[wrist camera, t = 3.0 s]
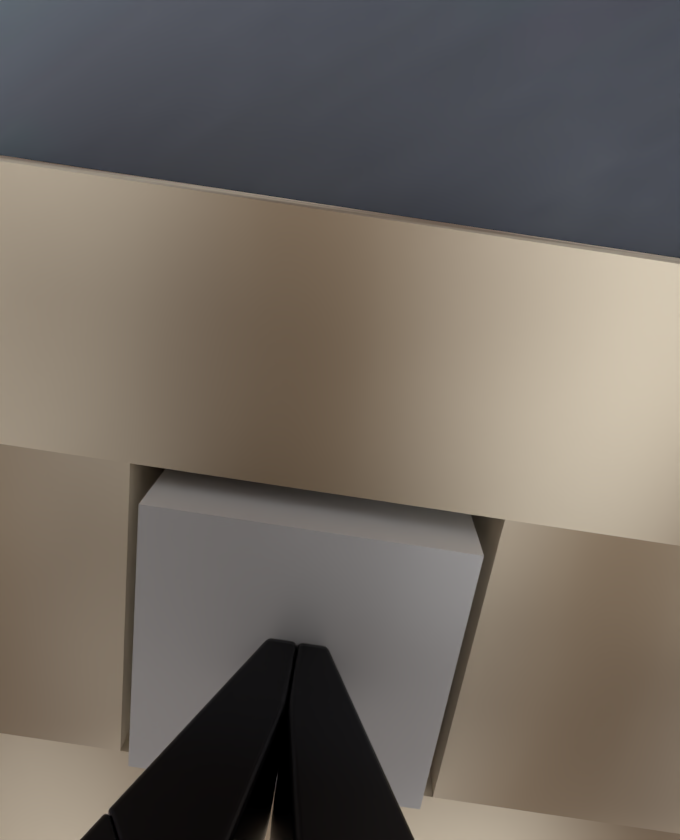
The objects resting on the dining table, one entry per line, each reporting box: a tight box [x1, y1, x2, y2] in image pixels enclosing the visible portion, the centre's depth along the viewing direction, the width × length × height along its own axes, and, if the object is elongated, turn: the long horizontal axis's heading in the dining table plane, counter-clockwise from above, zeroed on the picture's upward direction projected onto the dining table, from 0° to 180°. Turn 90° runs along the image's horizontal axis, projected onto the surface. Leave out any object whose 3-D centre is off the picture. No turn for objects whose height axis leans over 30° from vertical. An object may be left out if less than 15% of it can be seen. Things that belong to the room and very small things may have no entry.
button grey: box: [128, 469, 484, 809], centre depth 10 cm, size 4×4×4 cm
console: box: [0, 155, 680, 840], centre depth 13 cm, size 14×24×4 cm, turn 172°
